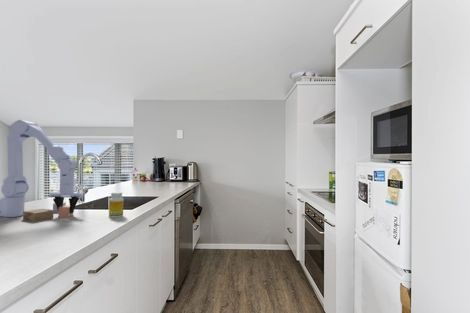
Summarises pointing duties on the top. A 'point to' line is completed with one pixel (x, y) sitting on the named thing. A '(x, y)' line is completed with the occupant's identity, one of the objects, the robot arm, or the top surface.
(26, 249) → the top surface
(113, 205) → the supplement bottle
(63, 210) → the terracotta cube
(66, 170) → the robot arm
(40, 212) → the walnut block
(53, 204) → the grey cube
